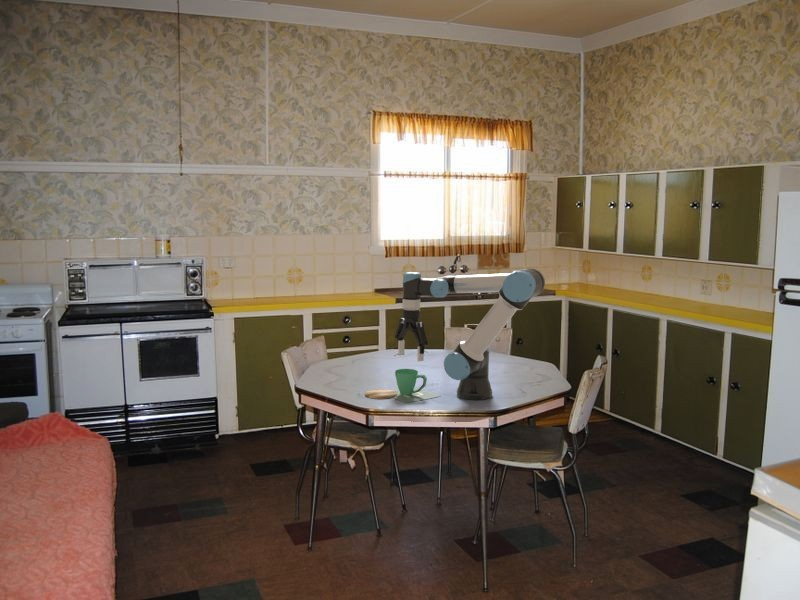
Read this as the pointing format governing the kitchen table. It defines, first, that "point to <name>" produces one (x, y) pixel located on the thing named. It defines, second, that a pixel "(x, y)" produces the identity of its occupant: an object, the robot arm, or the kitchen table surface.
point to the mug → (408, 381)
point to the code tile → (415, 396)
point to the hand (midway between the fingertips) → (410, 358)
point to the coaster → (381, 394)
